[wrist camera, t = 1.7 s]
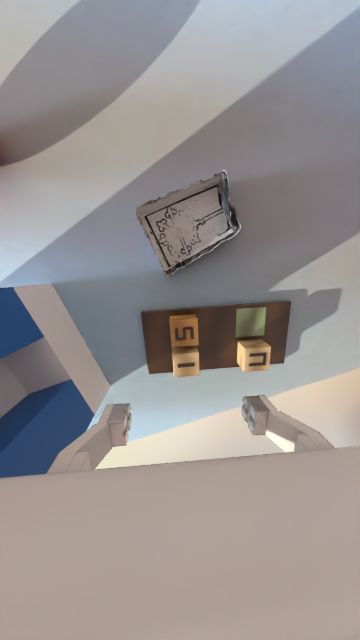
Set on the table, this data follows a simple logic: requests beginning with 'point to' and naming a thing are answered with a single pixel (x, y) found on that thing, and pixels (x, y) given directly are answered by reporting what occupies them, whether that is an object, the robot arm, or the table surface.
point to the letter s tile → (184, 330)
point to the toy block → (42, 380)
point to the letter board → (219, 338)
